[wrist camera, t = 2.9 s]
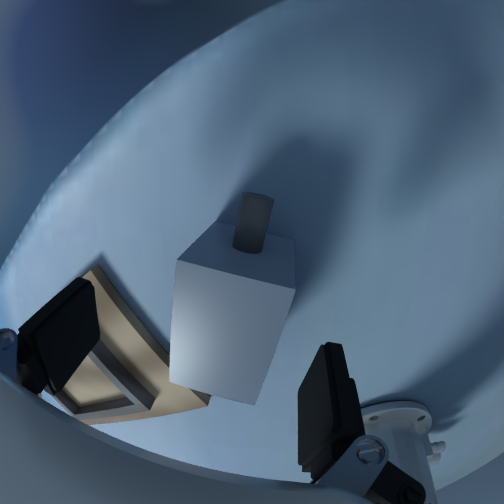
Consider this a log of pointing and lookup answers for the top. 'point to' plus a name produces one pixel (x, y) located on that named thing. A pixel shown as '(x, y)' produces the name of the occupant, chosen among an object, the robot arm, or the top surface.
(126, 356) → the end holder
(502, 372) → the top surface
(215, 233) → the connector plug
